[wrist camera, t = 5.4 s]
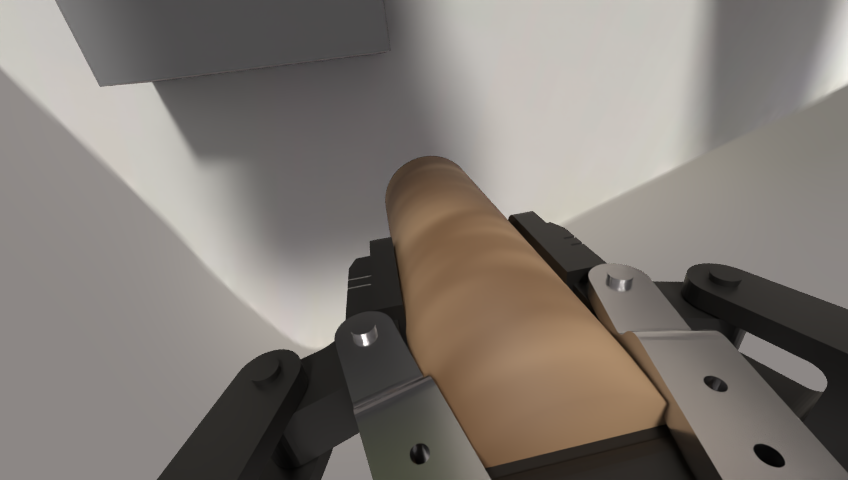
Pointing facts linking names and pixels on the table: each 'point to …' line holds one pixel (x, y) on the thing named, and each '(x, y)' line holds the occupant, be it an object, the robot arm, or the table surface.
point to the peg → (504, 326)
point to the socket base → (218, 35)
